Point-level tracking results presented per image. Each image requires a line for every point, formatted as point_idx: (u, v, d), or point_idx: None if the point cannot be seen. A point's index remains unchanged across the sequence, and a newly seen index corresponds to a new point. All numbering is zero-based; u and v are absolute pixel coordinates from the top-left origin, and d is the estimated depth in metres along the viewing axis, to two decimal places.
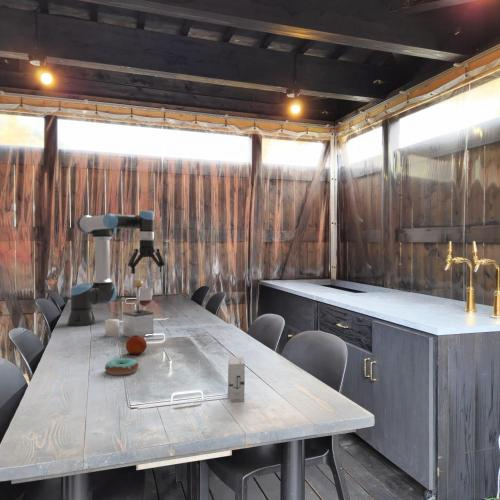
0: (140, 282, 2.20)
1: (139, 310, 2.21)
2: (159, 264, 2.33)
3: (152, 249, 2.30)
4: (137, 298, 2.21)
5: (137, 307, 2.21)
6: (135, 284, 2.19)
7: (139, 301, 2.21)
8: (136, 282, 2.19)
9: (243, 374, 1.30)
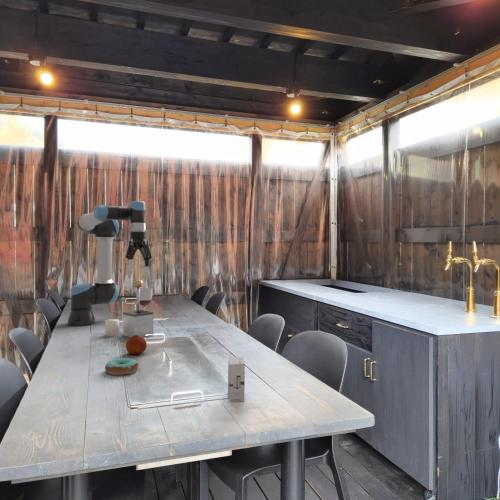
0: (140, 282, 2.20)
1: (139, 310, 2.21)
2: (144, 257, 2.15)
3: (139, 241, 2.18)
4: (137, 298, 2.21)
5: (137, 307, 2.21)
6: (135, 284, 2.19)
7: (139, 301, 2.21)
8: (136, 282, 2.19)
9: (243, 374, 1.30)
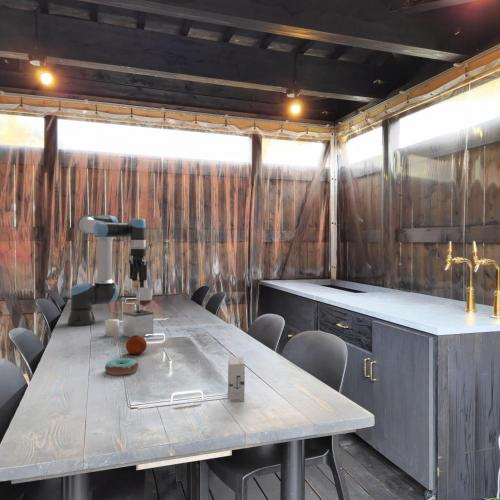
0: None
1: (139, 310, 2.21)
2: (139, 278, 2.18)
3: (139, 258, 2.18)
4: (137, 298, 2.21)
5: (137, 307, 2.21)
6: (135, 284, 2.19)
7: (139, 301, 2.21)
8: (136, 282, 2.19)
9: (243, 374, 1.30)
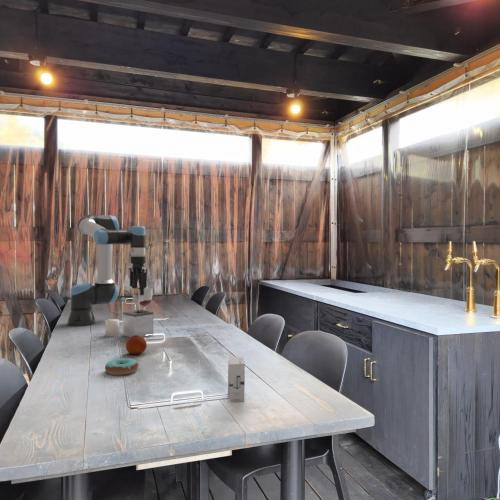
0: None
1: None
2: (139, 286, 2.18)
3: (139, 266, 2.18)
4: (137, 306, 2.21)
5: None
6: (135, 292, 2.20)
7: (139, 309, 2.22)
8: (136, 290, 2.19)
9: (243, 374, 1.30)
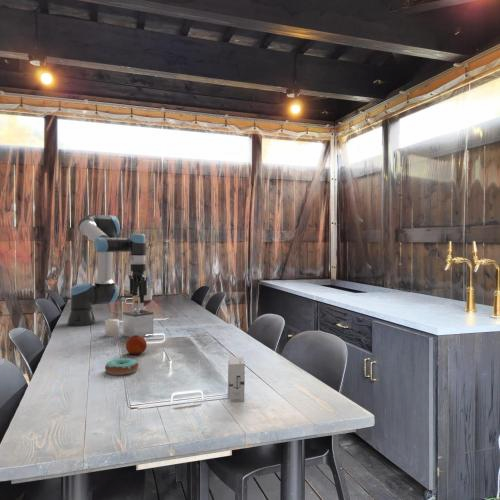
0: None
1: None
2: (139, 293, 2.19)
3: (139, 274, 2.18)
4: None
5: None
6: (135, 299, 2.20)
7: None
8: (136, 297, 2.19)
9: (243, 374, 1.30)
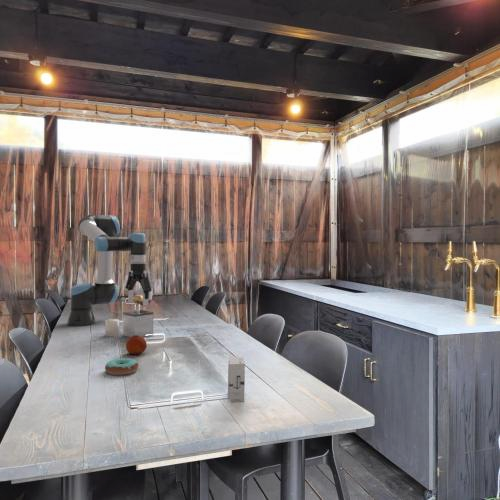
0: (140, 297, 2.20)
1: None
2: (143, 290, 2.16)
3: (139, 273, 2.19)
4: None
5: None
6: (135, 299, 2.20)
7: None
8: (136, 297, 2.19)
9: (243, 374, 1.30)
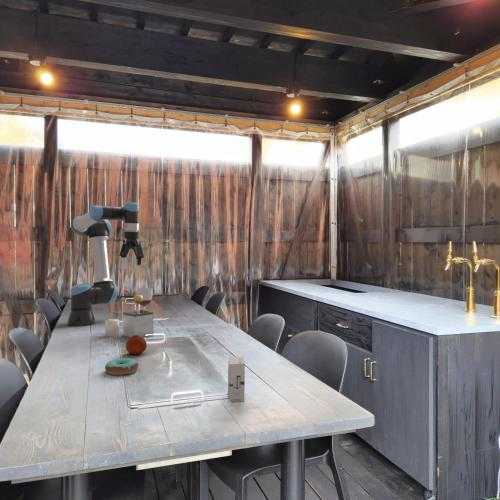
0: (140, 297, 2.20)
1: None
2: (136, 256, 2.27)
3: (132, 241, 2.29)
4: None
5: None
6: (135, 299, 2.20)
7: None
8: (136, 297, 2.19)
9: (243, 374, 1.30)
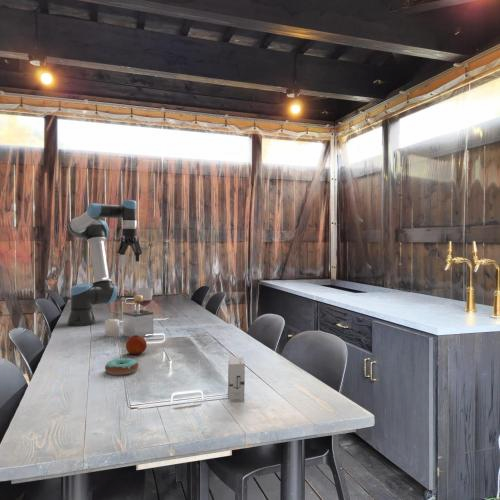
0: (140, 297, 2.20)
1: None
2: (134, 253, 2.30)
3: (130, 237, 2.33)
4: None
5: None
6: (135, 299, 2.20)
7: None
8: (136, 297, 2.19)
9: (243, 374, 1.30)
